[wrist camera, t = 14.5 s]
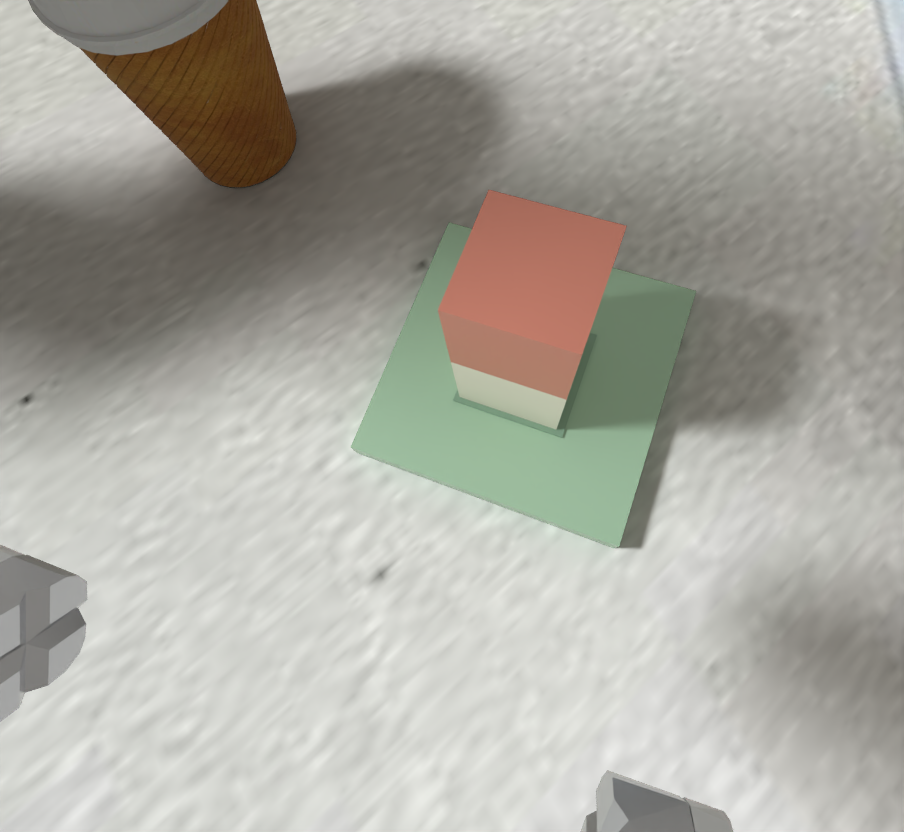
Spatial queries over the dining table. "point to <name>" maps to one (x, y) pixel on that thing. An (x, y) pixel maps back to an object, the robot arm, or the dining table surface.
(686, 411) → the dining table surface
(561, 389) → the pink and cream block
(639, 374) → the baseplate
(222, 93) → the disposable coffee cup
